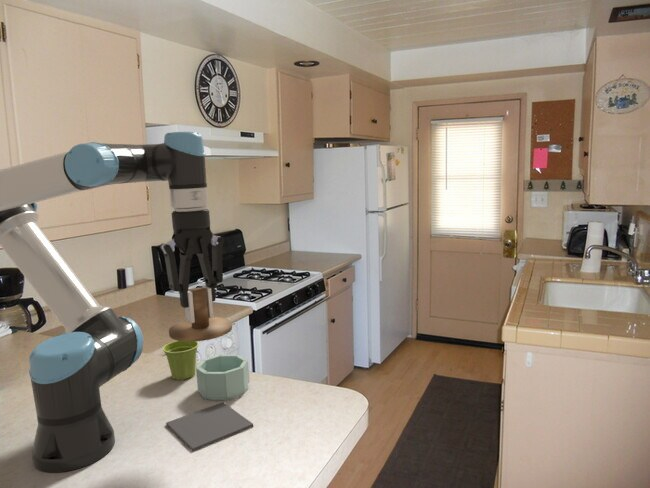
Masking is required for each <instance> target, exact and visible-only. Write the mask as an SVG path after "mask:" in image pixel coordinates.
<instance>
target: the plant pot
mask: <svg viewBox="0 0 650 488" xmlns="http://www.w3.org/2000/svg"><path fill="white" fill-rule="evenodd" d="M199 344H200V343H199V341H195V342H185V341H177V340H175V341H172V342H171V341H170V342H169V343H167V344H165V345H164V346H162V351H163V352H164V355H165V356H166V359H167V363H168V366H169V370H170V373H171V378H173V379H174V380H178V381H184V380H187V379H189V378H193V377H194V376H195V375H196V367H197V365H196V362H197V351H198V347H199Z"/></svg>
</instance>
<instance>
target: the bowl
mask: <svg viewBox="0 0 650 488" xmlns="http://www.w3.org/2000/svg"><path fill="white" fill-rule="evenodd" d="M195 375H196V382H197V391H198V392H199V394H200V396H201V397H202V398H203V399H204V400H208V401H211V402H212V401H213V402H215V401H216V402H218V401H219V402H220V401H221V402H223V401H228V400H229V401H230V400H232V399H235V398H236V399H237V398H239V397H240V396H243V395H244V394H245V393H247V392H248V389H249V384H250V370H249V360H248V359H247V358H245V357H243V356H242V355H240V354H217V355H215V356H211V357H208V358H205V359H202V360H201V361H200V363H198V364H197V365H196V367H195Z"/></svg>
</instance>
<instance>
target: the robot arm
mask: <svg viewBox="0 0 650 488" xmlns="http://www.w3.org/2000/svg"><path fill="white" fill-rule="evenodd" d="M163 139H164V140H163V143H162V142H161V143H155V144H153V143H150V144H132V143H131V144H129V143H128V144H127V143H126V144H125V143H124V144H123V143H120V144H119V143H100V142H97V141H95V142H93V141H92V142H85V143H79V144H76V145H73V147H72V148H70V150H68V151H65V152H61V153H57V154H54V155H50V156H47V157H44V158H39V159H35V160H31V161H28V162H23V163H20V164H16V165H13V166H10V167H6V168H5V167H4V168H2V169H0V247H1V248H2V250H3V251H4V252H5V253H6V255H7V256H8V257H9V258H10V260H11V261H12V262H13V263H14V265H15V266H16V267H17V269H18V270H19V271H20V273H21V274H22V275H23V277H25V279H26V280H27V282H28V283H29V284H30V285H31V288H33V289H34V290H35V292H36V293H37V295H38V296H39V297H40V299H41V300H42V301H43V302H44V304H45V305H46V306H47V308H48V309H50V310H49V311H51V312H52V314H53V315H54V316H55V317H56V319H57V321H58V322H59V323H60V324H61V326H63V328H64V329H65V330H64V333H61V334H60V335H58V336H57V335H54V336H52V337H50V338H47V339H45V340H44V341H42V342H40V343H39V344H37V345H36V346H35V347H34V348H33V350H31V352H30V354H29V360H28V362H29V372H28V373H29V374H28V375H29V377H30V382H31V388H32V394H33V400H34V405H35V413H36V417H37V428H36V430H35V435H34V441H33V445H32V449H31V450H32V451H31V456H32V457H31V458H32V463H33V466H34V467H35V469H37V470H39V471H42V472H46V473H62V472H68V471H73V470H77V469H80V468H83V467H86V466H89V465H91V464H93V463H96V462H97V461H99V460H101V459H102V458H103V457H105V456H106V455H108V453H110V451H112V450H113V448H114V446H115V443H116V437H115V431H114V428H113V426H112V423H111V422H110V420H109V418H108V416H107V415H106V413H105V411H104V409H103V407H102V400H101V391H100V387H102V386H103V385H105V384H106V383H108V382H110V380H112V379H113V378H115V377H117V376H118V375H119V374H121V373H122V372H125V371H127V370H128V369H129V368H131V367H132V366H133V364H134V363H136V362H137V361H138V360H139V358H140V357H141V355H142V354H143V351H144V350H143V349H144V335H143V332H142V330H141V328H140V326H139V325H138V323H136V322H135V320H133V319H131V318H130V317H126V316H123V315H122V316H121V315H120V316H118V315H117V314H116V312H115V311H114V310H113V309H112V307H110V306H104V305H101V304H99V302H98V301H97V299H95V297H94V296H93V295H92V294H91V292H90V291H89V289H88V288H87V286H85V284H84V283H83V281H82V280H81V279H80V277H79V276H78V275H77V274H76V272H75V271H74V270H73V269H72V267H71V266H70V265H69V263H67V260H65V259H64V258H63V256H62V255H61V254H60V252H59V251H58V250H57V248H56V247H55V246H54V245H53V243H52V242H51V241H50V240H49V238H48V236H46V233H44V232H43V230H42V229H41V228H40V226H39V225H38V220H39V214H38V212H37V209H38V204H37V203H38V202H43V201H46V200H50V199H56V198H59V197H62V196H67V195H71V194H75V193H78V192H82V191H88V190H92V189H97V188H100V187H105V186H109V185H110V186H111V185H119V184H131V183H134V184H135V183H143V182H144V183H146V182H161V181H162V182H164V181H167V182H168V189H169V202H170V208H171V209H172V210H173V211H171V213H170V214H171V222H172V230H173V234H172V237H171V239H170V240H169V241H167V242H166V243H161V244H160V246H159V248H160V250H161V251H162V254H163V256H164V262H165V267H166V275H167V280H168V285H169V290H171V291H174V292H175V293H176V292H178V293H179V301H180V303H179V304H180V306H181V307H182V308H184V311H185V320H186V321H188V322H190V323H195V318H194V307H193V295H192V292H191V291H189V290H190V289H189V286H190V276H191V275H190V272H191V263H192V262H191V261H192V260H193V255H196V256H197V257H198V262H199V265H200V268H201V273H202V275H203V280H204V283H205V285H204V286H201V288H206V292H207V304H208V316H209V318H210V319H211V318H214V317H215V316H214V307H213V302H216V288H217V286H218V284H220V283H222V282H223V281H224V280H223V279H224V278H223V277H224V276H223V275H224V273H223V269H224V268H223V266H224V265H223V245H224V243H225V237H224V236H219V235H215V234H213V232H212V229H211V217H210V209H208V208H207V207H208V206H209V193H208V192H209V190H208V183H207V170H206V152H205V146H204V139H203V136H202V134H201V133H199V132H197V131H172V132H166V133H165V134H164V137H163ZM210 244H211V262H210V257H209V256H210V254H209V250H208V247H209V245H210ZM175 247H176V248H177V249H178V250H179V258H180V259H179V270H178V268H177V262H176V261H177V260H176V255H175ZM178 271H179V273H178Z"/></svg>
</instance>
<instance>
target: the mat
mask: <svg viewBox="0 0 650 488" xmlns="http://www.w3.org/2000/svg"><path fill="white" fill-rule="evenodd" d="M165 425H166V427H168V428H169V430H170V431H172V432H173V433H174V434H175V435H176V436H177V437H178V438H179V439H180V440H181V442H183V443H184V445H186V446H187V447H188V448H189V449H190V450H191V451H192V452H195V451H197V450H199V449H202V448H204V447H207V446H210V445H212V444H215V443H216V442H219V441H221V440H224V439H225V438H229V437H231V436H234V435H236V434H239V433H241V432H243V431H247V430H248V429H251V428H253V427H254V423H253V422H251V421H250V420H248V419H247V418H246V417H244V416H243V415H241V414H240V413H239V412H238V411H236V410H235V409H234V408H233V407H231V406H229V405H228V404H226V403H225V402H223V401H221V402H219V403H217V404H213V405H211V406H208V407H206V408H205V407H204V408H203V409H201V410H198V411H193V412H192V413H189V414H186V415H183V416H180V417H178V418H176V419H173V420H169V421H167V422H165Z"/></svg>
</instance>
